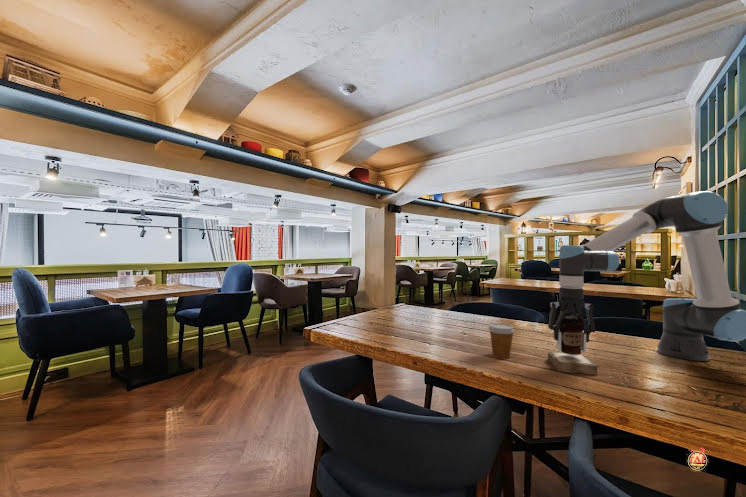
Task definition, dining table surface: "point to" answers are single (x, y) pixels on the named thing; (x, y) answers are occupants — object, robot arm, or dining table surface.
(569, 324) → the coffee cup
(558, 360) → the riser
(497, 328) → the disposable coffee cup
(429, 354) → the dining table surface
